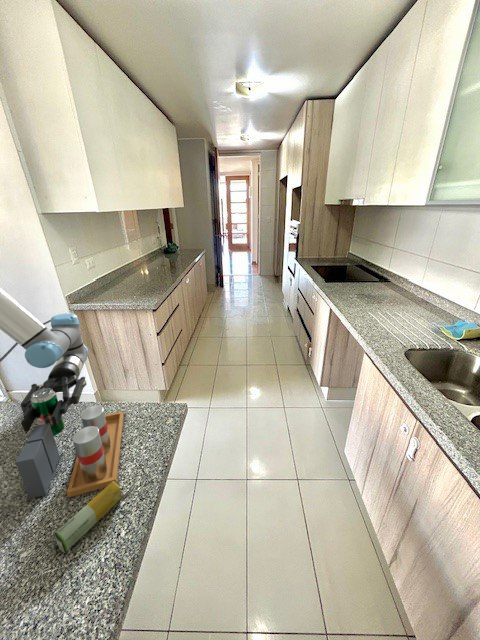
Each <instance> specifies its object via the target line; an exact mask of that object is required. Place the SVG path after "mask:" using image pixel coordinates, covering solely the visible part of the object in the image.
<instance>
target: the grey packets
mask: <svg viewBox="0 0 480 640" xmlns="http://www.w3.org/2000/svg"><path fill="white" fill-rule="evenodd" d="M59 460H60V453H59V448H58V446H57V443H56V440H55V436H53V433H52V430H51V426H50V423H48V424H43V425H38V424H37V425H34V426H33V429H32V431H30V434H29V436H28V438H27V440H26V443H25V444H24V446H23V447H22V449H21V451H20V453H19V455H18V457H17V459H16V460H15V466H16V468H17V470H18V473H19V475H20V477H21V480H22V483H23V486H24V488H25V490H26V493H27V495H28V498H29V500H30V499H35V498H38V497H42V496H45V495H47V493H48V490H49V488H50V485H51V482H52V479H53V476H54V473H55V471H56V468H57V466H58V462H59Z"/></svg>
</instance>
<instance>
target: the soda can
mask: <svg viewBox="0 0 480 640" xmlns="http://www.w3.org/2000/svg"><path fill="white" fill-rule="evenodd" d="M58 401H59V399H58V396H57V393H56V392H54V391H53V389H51V388H43V389H40V390H38V391H36V392H34V393H33V394H32V398H31V404H32V407H33V410H34V413H35V416H36V418H35V420H36V422H37V426H38V425H43V424H48V423H50V426H51V430H52V433H53V436H54V437H56V436H58V435H60V434H61V433H62V431H64V429H65V421H64V417H63V415H62V416H61V418H60V420H59V423H58V425H57V426H53V423H52V419H51V416H52V414H53V412H54V410H55V408H56V406H57V404H58Z"/></svg>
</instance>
